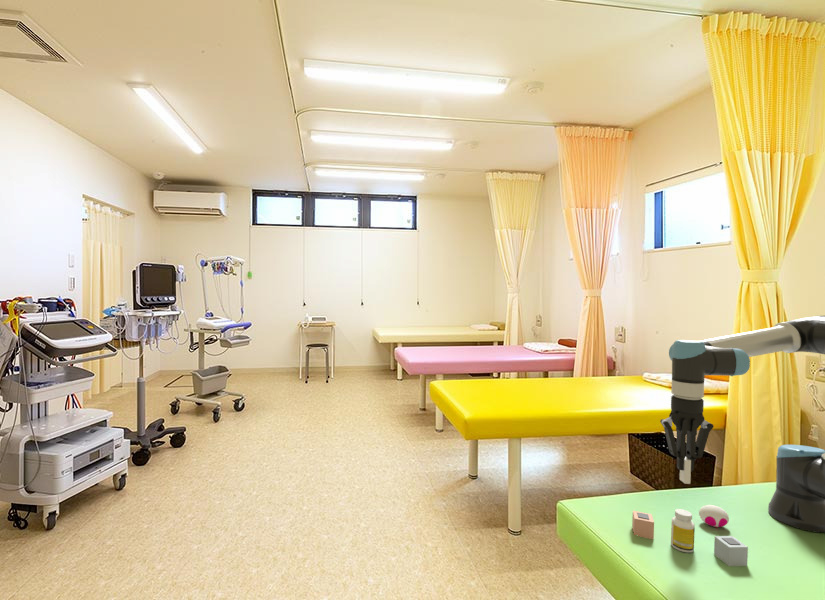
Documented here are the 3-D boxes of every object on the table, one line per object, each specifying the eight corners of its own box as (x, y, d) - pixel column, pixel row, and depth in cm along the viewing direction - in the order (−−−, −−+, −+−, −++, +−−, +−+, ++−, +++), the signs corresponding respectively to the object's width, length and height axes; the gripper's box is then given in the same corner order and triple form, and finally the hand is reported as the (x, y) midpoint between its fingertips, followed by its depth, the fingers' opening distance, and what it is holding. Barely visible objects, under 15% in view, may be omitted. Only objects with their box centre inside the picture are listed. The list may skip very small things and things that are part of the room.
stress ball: (701, 536, 129) (705, 525, 126) (694, 511, 136) (698, 499, 132) (731, 540, 127) (736, 529, 123) (722, 514, 133) (727, 502, 130)
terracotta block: (651, 530, 126) (651, 513, 126) (653, 539, 121) (654, 521, 121) (632, 527, 128) (632, 509, 128) (633, 535, 123) (634, 517, 123)
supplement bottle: (697, 554, 115) (698, 518, 114) (675, 551, 116) (676, 516, 116) (688, 543, 120) (689, 508, 120) (667, 540, 121) (668, 506, 121)
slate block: (731, 554, 115) (732, 535, 115) (747, 566, 110) (747, 546, 110) (714, 554, 115) (714, 535, 115) (728, 566, 110) (729, 546, 110)
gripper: (704, 394, 120) (702, 477, 121) (656, 392, 122) (653, 474, 122) (720, 401, 113) (718, 489, 113) (668, 398, 114) (666, 485, 115)
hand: (684, 481), depth 118 cm, fingers closed
